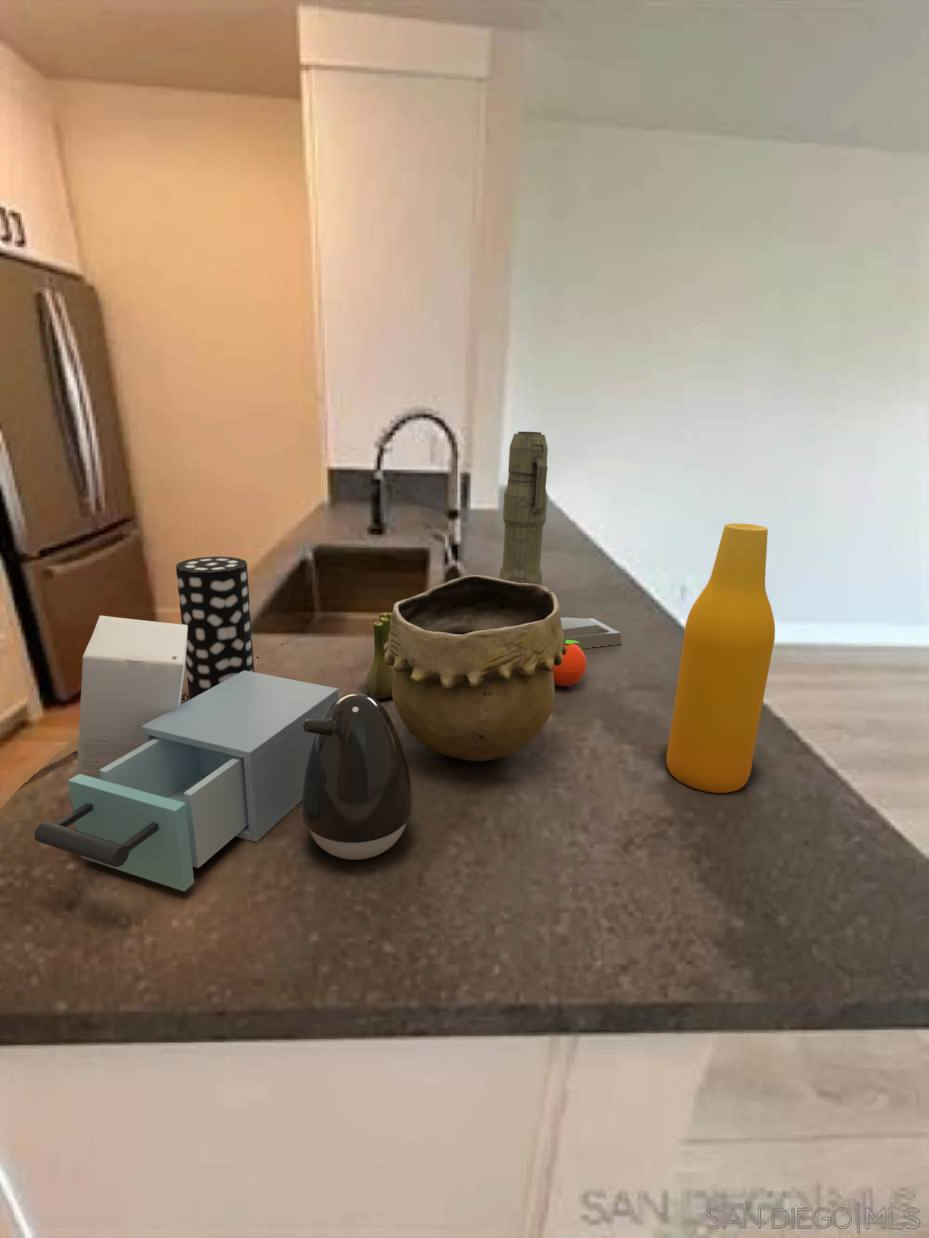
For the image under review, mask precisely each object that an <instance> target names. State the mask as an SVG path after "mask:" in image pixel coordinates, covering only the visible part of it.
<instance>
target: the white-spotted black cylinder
mask: <svg viewBox="0 0 929 1238" xmlns="http://www.w3.org/2000/svg"><path fill="white" fill-rule="evenodd" d="M175 572H176V582H177V592H178V603H179V612H180V620H181V624H182V625H188V632H187V649H186V661H185V670H186V680H187V689H188V701H189V700H190V699H192V698H194V697H196V696H198V695H200V694H201V693H203V692H205V691H207V690H209V689H211V688H213V687H214V686H216V685H218V684H220V683H222V682H224V681H225V680H227V679H229V678H231V677H233V676H235V675H237V674H238V673H240V672H242V671H244V670H245V671H250V672H255V662H254V661H255V660H254V645H253V632H252V631H253V630H252V618H251V617H252V616H251V603H250V587H249V586H250V585H249V574H248V573H249V572H248V562H247V560H245V559H243V558H238V557H233V556H204V557H203V556H202V557H196V558H190V559H186V560H183V561H180V562H178V563H176V565H175Z"/></svg>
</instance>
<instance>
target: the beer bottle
mask: <svg viewBox="0 0 929 1238" xmlns="http://www.w3.org/2000/svg"><path fill="white" fill-rule="evenodd" d="M768 533H769V530H768V527H766V526H763V525H758V524H750V523H739V522H738V523H737V522H736V523H734V522H732V523H725V524H724V527H723V529H722V534H721V538H720V540H719V545H718V548H717V551H716V552H717V553H716V555H715V560H714V564H713V567H712V571H711V574H710V577H709V580H708V581H707V583H706V585H705V587H704V588H703V589H702V591H701V592H700V594H699V595H698V597H697V598H696V600H695V601H694V603H693V605H692V607H691V608H690V610H689V613H688V616H687V619H686V622H685V627H684V631H683V641H682V647H681V655H680V662H679V670H678V677H677V682H676V683H677V684H676V691H675V697H674V703H673V712H672V720H671V727H670V733H669V739H668V745H667V750H666V766H667V769H668V771H669V773H670V775H672V776H673V778H674V779H676V780H677V781H678V782H679V783H681V784H684V785H685V786H687V787H689V788H692V789H695V790H698V791H702V792H707V793H713V794H728V792H729V793H734V792H737V791H738V790H741V789H742V788H743V787H744V786H745V785H746V784H747V782H748V780H749V778H750V775H751V772H752V766H753V760H754V751H755V747H756V741H757V736H758V730H759V725H760V720H761V715H762V714H761V713H762V709H763V703H764V699H765V692H766V688H767V682H768V676H769V670H770V666H771V659H772V654H773V650H774V646H775V640H776V639H775V638H776V625H775V618H774V613H773V610H772V607H771V603H770V600H769V597H768V593H767V589H766V568H767V553H768V552H767V551H768ZM733 791H734V792H733Z"/></svg>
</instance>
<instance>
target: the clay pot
mask: <svg viewBox="0 0 929 1238" xmlns="http://www.w3.org/2000/svg"><path fill="white" fill-rule="evenodd" d="M391 614H392V615H391V620H390V632H389V638H388V642H387V643H386V644H385V645H384V646H383V647H384V651H385V652H386V653H385V663H386V664H387V665H393V667H394V669H395V676H394V680H393V687H392V696H393V697H392V700H393V704H394V706H395V709H396V711H397V713H398V715H399V718H400V719H401V721H402V722H403V724H404V725H405V727H406V729H407V730H408V731H410V733H411V734H412V735H413V736H414V737H415V738H416V739H417V740H418V741H419V742H420V743H421V744H423V745H424V746H426V747H427V748H429V749H431V750H432V751H433V752H437V753H439V754H440V755H443V756H446V757H451V758H454V759H458V760H464V761H470V762H487V761H494V760H497V759H498V760H499V759H502V758H505V757H508V756H510V755H512V754H514V753H516V752H519V751H521V750H522V749H523V748H525V747H526V746H527V745H529V744H530V743H531V742H532V741H533V739H534V738H535V737H536V736H537V735H538V734H539V732H540V731H541V730H542V729H543V727H544V726H545V724H546V723H547V721H548V720H549V718H550V716H551V714H552V712H553V708H554V701H555V695H556V691H555V690H556V689H555V685H554V678H553V667H554V665H556V666H558V665H561V664H562V655H565V654H566V652H567V648H566V647H565V645H564V639H563V637H564V634H563V631H562V625H561V618H562V617H561V609H560V604H559V599H558V598H557V595H556V593H554V591H550V590H549V588H548V587H547V586H544V585H542V586H541V585H537V584H529V583H516V582H511V581H506V580H502V579H500V578H497V577H492V576H489V575H480V574H470V575H465V576H461V577H458V578H454V579H450V580H449V581H447V582H445V583H442V584H440V585H436V586H434V587H432V588H430V589H428V590H427V591H423V592H422V593H418V594H416V595H414V596H411V597H409V598H405V599H402V600H399V601H396V602H394V604H393V609H392V612H391Z"/></svg>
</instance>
